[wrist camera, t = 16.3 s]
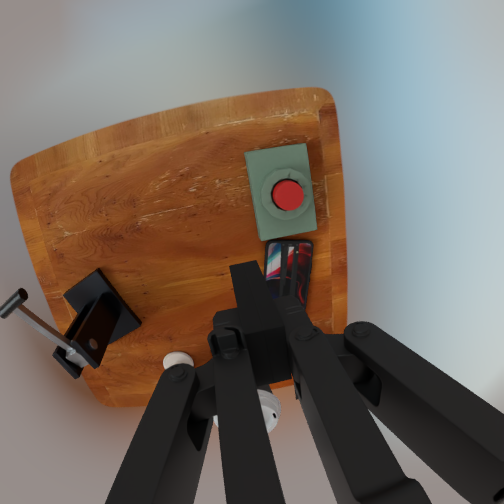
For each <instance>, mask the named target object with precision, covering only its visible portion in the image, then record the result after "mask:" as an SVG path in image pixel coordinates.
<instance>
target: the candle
mask: <svg viewBox="0 0 504 504" xmlns="http://www.w3.org/2000/svg"><path fill="white" fill-rule="evenodd" d="M180 363H185V364H190V365H192V366H193V367H194V362H193V360H192V358H191V357H190V356H189V355H188V354H186V353H183V352H177V351H176V352H171V353H169V354H167V355H166V356H165V358H164V360H163V365H164V368H165V369H167V368H169V367H170V366H172V365H175V364H180Z"/></svg>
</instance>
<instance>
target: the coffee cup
mask: <svg viewBox="0 0 504 504" xmlns="http://www.w3.org/2000/svg"><path fill="white" fill-rule="evenodd" d="M257 391H258V395H259V399H260V403H261V407H262V411H263V416H264V420H265V424H266V428H267V432H268V433H269V432H270V431H272V430H273V429H274V428H275V426H276V425H277V422H278V419H279V417H280V413H281V404H280V401H279V400H278V398H277V397H276V396H275V395H273V393H272V391H271V389H270V386H269V384H268V385H263V386H259V387H257ZM214 422H215V424H216V425H217V426H218V419H217V415H216V416H214Z"/></svg>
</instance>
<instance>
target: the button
mask: <svg viewBox="0 0 504 504" xmlns="http://www.w3.org/2000/svg"><path fill="white" fill-rule="evenodd" d="M303 198H304V193H303V190H302V188H301V187H300V185H298V184H297V183H295V182H293V181H289V180H284V181H281V182H279V183H278V184H277V185H276V186H275V188H274V190H273V199H274V201H275V203H276V204H277V205H278V206H279V207H280V208H282V209H284V210H287V211H291V210H295V209H297V208H298V207H299V206H300V205H301V204H302V202H303Z"/></svg>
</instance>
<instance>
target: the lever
mask: <svg viewBox="0 0 504 504" xmlns="http://www.w3.org/2000/svg"><path fill="white" fill-rule="evenodd" d="M27 299H28V294H27V292H26V290H25V289H23V288H20V289H18V290H17V291H16V292H15V293H14V294H13V295H12V296H11V297H10V298H9V299H8V300H7V301H6V302H5V303H4V304H3V305H2V306H1V307H0V317H2V318H4V319H5V318H7V317H8V316H9V315H10V314H11V313H12V312H14V313H15V314H16V315H18V316H19V317H20V318H21V319H23V320H24V321H25V322H27V323H28V324H29V325H31V326H32V327H33V328H35V329H36V330H38V331H39V332H40V333H42V334H43V335H44V336H46V337H47V338H49V339H50V340H51V341H53V342H54V343H56V344H57V345H59V346H60V347H62V348H63V349H65V350H66V359H68V360H70V361H71V362H73V363H74V364H76V365H78V366H79V367H81V368H82V367H84V366H86V365H88V364H89V363H88V362H87V361H86V360H85V359H84V358H83V357H82V356H81V355H80V354H79V353H78V352H77V350H76V349H75V348H74V347H73V346H72V345H71V342H72V340H71V341H70V340H69V339H67V338H66V337H65V336H63V335H62V334H60V333H59V332H58V331H56V330H55V329H53V328H52V327H51V326H49V325H48V324H47V323H45V322H44V321H43V320H41V319H40V318H39V317H37V316H36V315H35V314H34V313H32V312H31V311H30V310H29V309H27V308H26V307H25V306H24V305H22V303H23V302H25V300H27Z"/></svg>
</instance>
